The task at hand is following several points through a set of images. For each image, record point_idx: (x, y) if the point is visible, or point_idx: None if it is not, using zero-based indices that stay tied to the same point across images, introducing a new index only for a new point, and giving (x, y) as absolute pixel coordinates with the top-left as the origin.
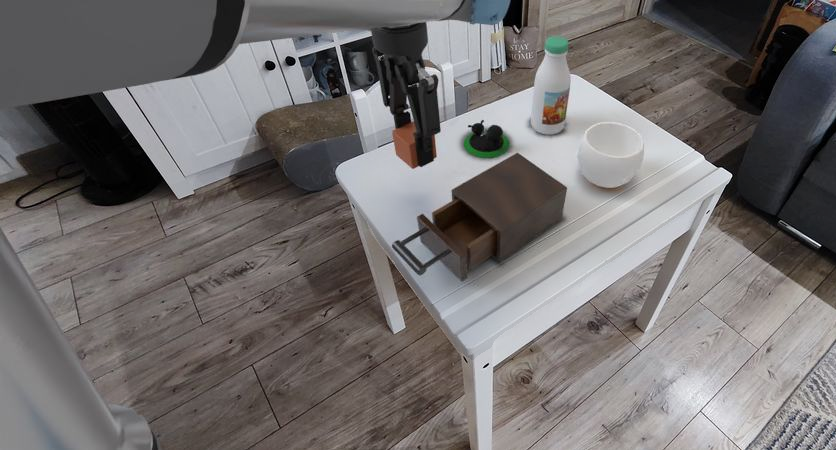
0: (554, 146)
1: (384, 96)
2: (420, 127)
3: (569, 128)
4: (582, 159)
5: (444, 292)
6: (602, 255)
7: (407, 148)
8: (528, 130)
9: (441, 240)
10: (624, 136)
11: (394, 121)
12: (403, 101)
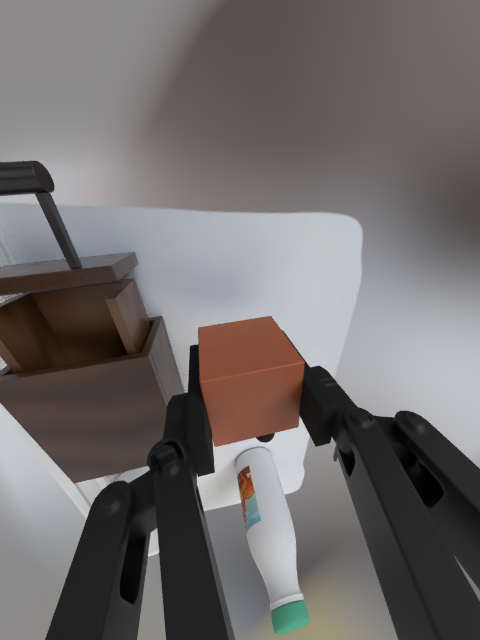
0: (220, 452)
1: (447, 463)
2: (156, 509)
3: (235, 470)
4: None
5: (4, 229)
6: (20, 432)
7: (212, 364)
8: (259, 442)
9: (8, 277)
10: (154, 532)
11: (327, 391)
12: (356, 496)
